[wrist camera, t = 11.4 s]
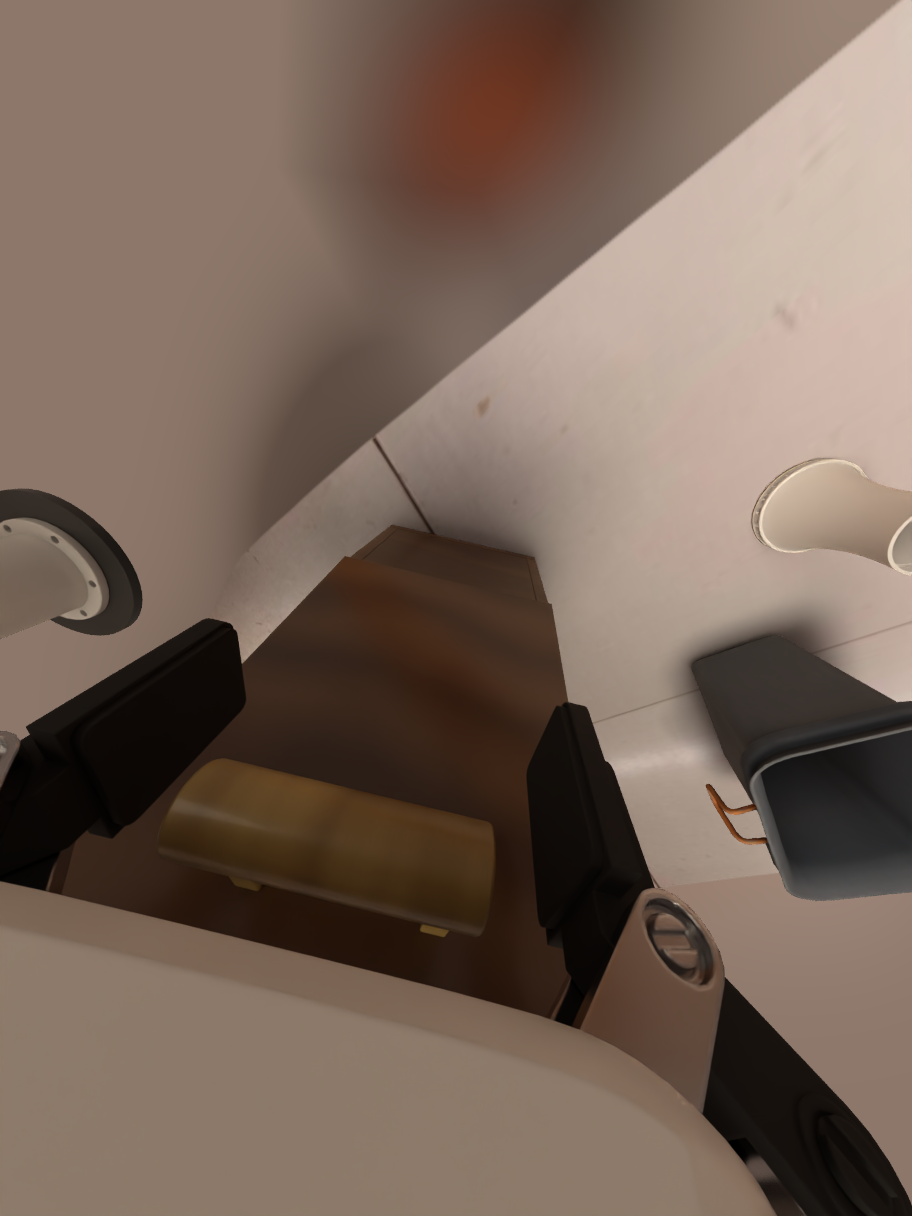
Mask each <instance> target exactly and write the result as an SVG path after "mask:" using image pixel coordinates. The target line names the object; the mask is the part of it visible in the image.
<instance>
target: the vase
mask: <svg viewBox="0 0 912 1216" xmlns="http://www.w3.org/2000/svg"><path fill="white" fill-rule="evenodd" d="M752 526H753V530H754V533H755V535H756V537H757V538H758V539H759V541H761V542H762V543H763V544H765V545H766V546H768V547H771V548H773V549H776V550H778V551H782V552H788V553H798V552H805V551H809V550H813V549H831V550H839V551H844V552H849V553H853V554H857V555H860V556H864V557H867V558H869V559H872V560H875V561H877V562H880V563H882V564H884V565H886V566H888V567H890V568H892V569H894V570H896V571H898V572H900V573H903V574H906V575H912V492H910V491H904V490H899V489H894V488H891V487H887V486H884V485H881V484H878V483H876V482H873V481H871V480H869V479H868V478H867V476H866V474H865V473H864V471H863V470H862V469H861V468H860V467H859V466H857V465H856V464H854V463H852V462H849V461H845V460H832V459H819V460H813V461H809V462H805V463H802V464H800V465H797V466H795V467H793V468H791V469H790V470H788V471H786V472H785V473H783V474H782V475H780V476H779V477H778V478H777V479H775V480H774V481H773V482H772V483H771V484H770V485H769V486H768V487H767V489H766V490H765V491H764V492H763V494H762V495H761V497H760V498H759V500H758V502H757V504H756V506H755V509H754V512H753V517H752Z"/></svg>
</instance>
